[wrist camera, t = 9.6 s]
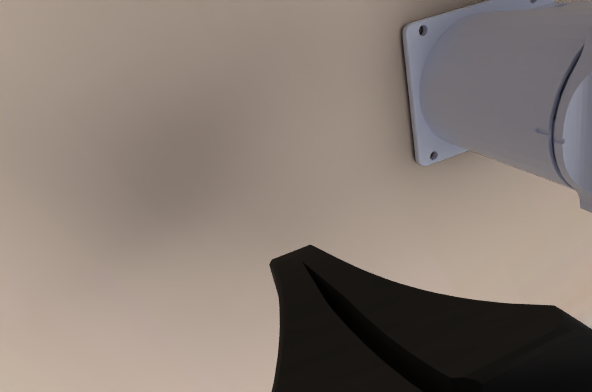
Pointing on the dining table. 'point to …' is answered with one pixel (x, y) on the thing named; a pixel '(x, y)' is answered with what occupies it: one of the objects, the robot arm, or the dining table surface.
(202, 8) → the dining table surface
